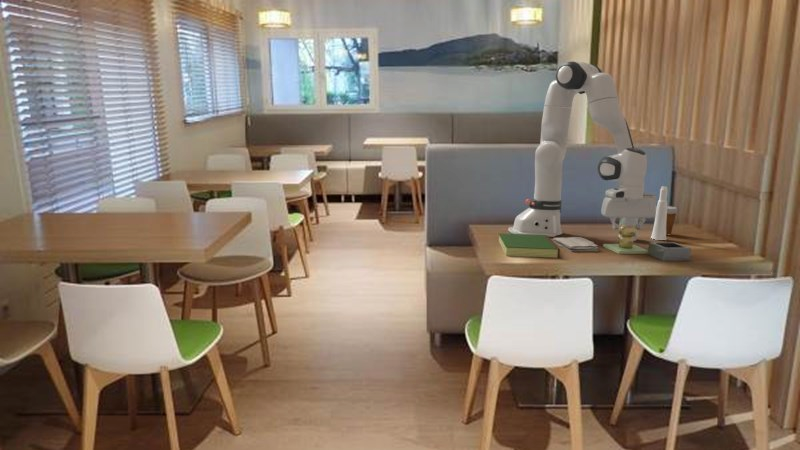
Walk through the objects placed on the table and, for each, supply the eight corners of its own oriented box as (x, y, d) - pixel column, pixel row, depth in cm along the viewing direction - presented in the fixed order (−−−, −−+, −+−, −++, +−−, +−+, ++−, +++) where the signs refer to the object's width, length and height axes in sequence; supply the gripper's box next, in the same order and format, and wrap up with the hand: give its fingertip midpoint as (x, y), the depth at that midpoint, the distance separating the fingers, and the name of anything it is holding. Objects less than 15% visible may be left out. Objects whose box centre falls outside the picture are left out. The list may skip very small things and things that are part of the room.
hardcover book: (559, 259, 209) (559, 248, 208) (505, 257, 210) (506, 246, 209) (545, 244, 233) (546, 234, 233) (497, 242, 234) (498, 233, 234)
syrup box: (636, 241, 242) (640, 205, 239) (622, 240, 241) (626, 205, 239) (631, 238, 247) (634, 203, 244) (617, 237, 247) (620, 203, 244)
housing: (663, 260, 208) (664, 248, 208) (647, 254, 218) (649, 242, 217) (689, 260, 210) (691, 248, 209) (673, 254, 220) (674, 242, 219)
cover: (622, 249, 221) (624, 228, 219) (614, 245, 227) (616, 225, 225) (637, 249, 222) (639, 228, 220) (629, 245, 227) (631, 225, 226)
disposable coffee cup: (677, 237, 252) (680, 209, 250) (653, 235, 253) (657, 208, 251) (671, 232, 261) (674, 206, 259) (648, 231, 262) (651, 204, 260)
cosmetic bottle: (654, 240, 243) (660, 187, 239) (648, 237, 249) (653, 185, 245) (669, 241, 243) (675, 187, 239) (662, 237, 249) (668, 185, 245)
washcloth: (571, 253, 218) (571, 245, 217) (550, 243, 235) (551, 235, 235) (601, 253, 220) (601, 245, 220) (578, 242, 237) (579, 235, 237)
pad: (618, 253, 218) (618, 251, 217) (603, 246, 229) (603, 243, 229) (648, 253, 219) (649, 250, 219) (632, 246, 231) (632, 243, 231)
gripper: (652, 192, 225) (647, 227, 227) (601, 190, 222) (597, 227, 225) (661, 194, 219) (656, 231, 221) (609, 193, 216) (605, 230, 218)
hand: (626, 229), depth 223 cm, fingers open, 8 cm apart
